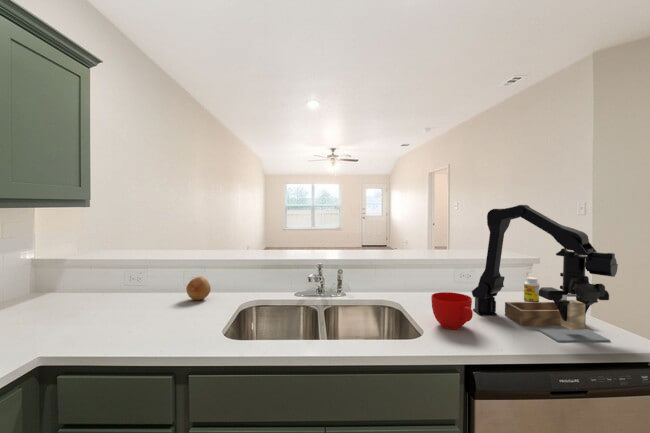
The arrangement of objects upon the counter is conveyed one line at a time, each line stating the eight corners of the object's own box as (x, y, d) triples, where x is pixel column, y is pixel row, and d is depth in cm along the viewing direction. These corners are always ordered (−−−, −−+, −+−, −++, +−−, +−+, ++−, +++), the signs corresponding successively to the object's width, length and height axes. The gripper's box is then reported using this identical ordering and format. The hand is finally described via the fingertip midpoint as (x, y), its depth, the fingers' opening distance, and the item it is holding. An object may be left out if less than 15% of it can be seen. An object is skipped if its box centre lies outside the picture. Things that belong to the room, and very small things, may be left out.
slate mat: (557, 341, 109) (557, 340, 109) (537, 330, 119) (537, 328, 119) (610, 341, 110) (610, 340, 110) (586, 329, 120) (586, 328, 120)
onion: (187, 297, 160) (186, 275, 160) (210, 296, 163) (210, 274, 163) (185, 303, 151) (185, 279, 151) (210, 301, 154) (210, 278, 154)
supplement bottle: (520, 301, 154) (521, 277, 154) (531, 299, 156) (531, 276, 156) (531, 304, 149) (532, 279, 149) (542, 303, 151) (542, 278, 150)
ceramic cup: (452, 339, 112) (453, 307, 112) (423, 321, 128) (424, 293, 128) (488, 334, 115) (489, 303, 115) (455, 318, 132) (456, 291, 131)
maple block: (570, 329, 112) (570, 304, 112) (560, 324, 117) (561, 300, 116) (584, 329, 112) (585, 303, 112) (574, 324, 117) (575, 299, 116)
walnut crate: (521, 325, 124) (521, 311, 124) (504, 315, 135) (505, 302, 135) (585, 325, 124) (585, 310, 124) (563, 315, 135) (564, 301, 135)
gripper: (561, 276, 106) (559, 329, 106) (625, 276, 106) (623, 329, 106) (538, 269, 117) (537, 317, 117) (596, 269, 117) (594, 317, 118)
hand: (572, 320), depth 114 cm, fingers closed on maple block, 4 cm apart
